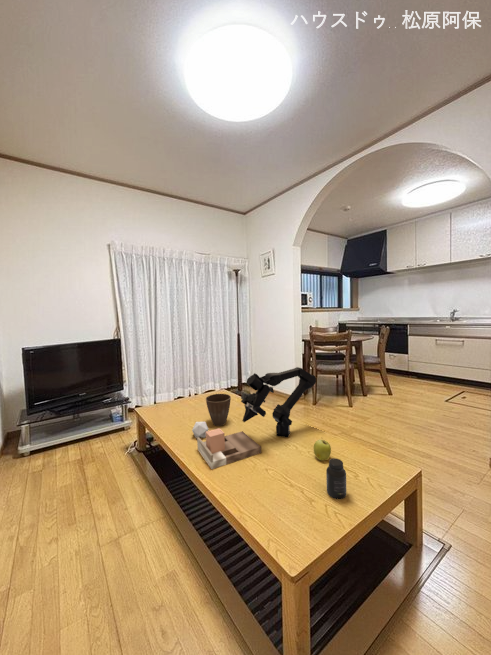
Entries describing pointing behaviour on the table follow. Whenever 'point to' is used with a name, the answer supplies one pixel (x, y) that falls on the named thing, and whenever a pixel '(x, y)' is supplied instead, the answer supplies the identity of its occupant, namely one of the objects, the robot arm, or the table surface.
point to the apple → (322, 449)
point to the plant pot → (218, 408)
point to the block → (215, 440)
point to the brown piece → (230, 450)
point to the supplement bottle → (336, 479)
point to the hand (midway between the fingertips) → (243, 421)
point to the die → (200, 429)
